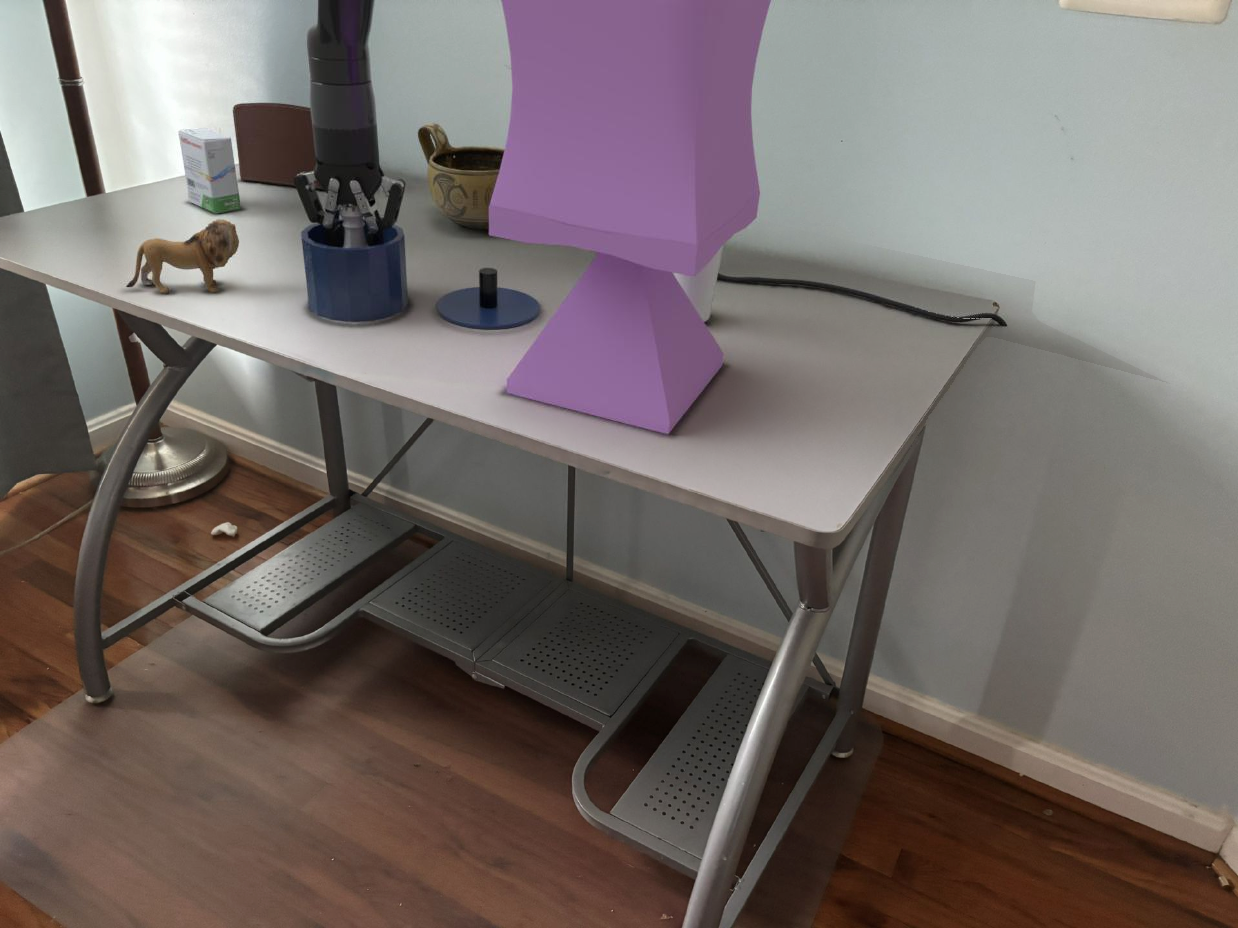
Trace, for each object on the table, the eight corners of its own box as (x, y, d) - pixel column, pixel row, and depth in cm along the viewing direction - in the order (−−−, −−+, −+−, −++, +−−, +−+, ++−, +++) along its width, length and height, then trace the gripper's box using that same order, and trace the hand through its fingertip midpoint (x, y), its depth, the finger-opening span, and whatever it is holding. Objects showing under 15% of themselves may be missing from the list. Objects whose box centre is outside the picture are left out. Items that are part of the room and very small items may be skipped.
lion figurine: (244, 277, 134) (235, 213, 129) (246, 291, 129) (236, 225, 125) (128, 284, 129) (114, 218, 124) (125, 299, 125) (111, 231, 120)
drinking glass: (681, 330, 128) (693, 219, 120) (656, 311, 133) (666, 204, 125) (724, 323, 131) (738, 215, 123) (698, 305, 136) (710, 200, 128)
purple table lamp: (573, 326, 126) (589, -62, 103) (736, 363, 120) (793, -43, 96) (489, 395, 108) (486, -57, 85) (675, 443, 102) (727, -33, 78)
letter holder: (345, 193, 170) (338, 110, 163) (239, 181, 172) (228, 99, 165) (366, 179, 179) (361, 100, 171) (266, 168, 181) (256, 89, 174)
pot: (418, 294, 133) (415, 223, 127) (391, 329, 122) (387, 253, 117) (328, 285, 133) (321, 214, 128) (294, 320, 122) (285, 244, 117)
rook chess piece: (366, 274, 122) (361, 212, 118) (333, 269, 123) (327, 208, 119) (380, 262, 126) (376, 202, 122) (348, 258, 127) (343, 198, 123)
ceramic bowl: (563, 223, 163) (566, 133, 156) (512, 251, 150) (513, 153, 142) (452, 200, 171) (449, 112, 163) (394, 224, 157) (388, 130, 150)
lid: (546, 299, 134) (547, 258, 131) (530, 338, 122) (531, 294, 119) (450, 290, 135) (449, 249, 131) (425, 328, 123) (423, 284, 120)
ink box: (242, 209, 159) (232, 136, 153) (214, 215, 156) (203, 140, 150) (216, 197, 164) (205, 126, 158) (188, 202, 160) (176, 129, 154)
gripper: (411, 117, 118) (418, 252, 127) (297, 108, 119) (312, 243, 127) (394, 131, 112) (402, 272, 120) (273, 121, 112) (291, 262, 121)
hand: (356, 256), depth 124 cm, fingers closed on rook chess piece, 4 cm apart
